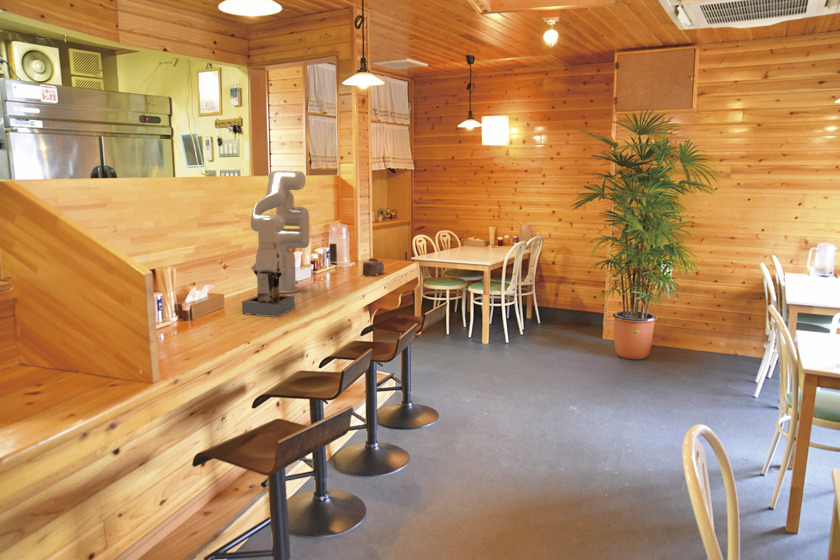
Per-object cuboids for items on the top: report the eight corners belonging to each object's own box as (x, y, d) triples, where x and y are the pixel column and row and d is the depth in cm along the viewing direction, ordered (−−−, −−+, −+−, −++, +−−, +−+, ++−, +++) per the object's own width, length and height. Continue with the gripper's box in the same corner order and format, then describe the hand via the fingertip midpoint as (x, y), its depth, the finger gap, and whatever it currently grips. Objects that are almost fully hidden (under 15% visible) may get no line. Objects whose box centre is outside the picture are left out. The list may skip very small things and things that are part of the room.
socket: (262, 305, 268) (261, 293, 266) (294, 308, 263) (294, 296, 262) (242, 313, 252) (241, 301, 251) (276, 317, 248) (276, 304, 247)
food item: (373, 272, 354) (373, 256, 352) (384, 273, 350) (385, 257, 348) (361, 276, 342) (361, 259, 340) (372, 277, 338) (373, 260, 336)
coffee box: (271, 310, 253) (270, 274, 249) (257, 309, 254) (256, 273, 251) (280, 305, 261) (279, 270, 258) (266, 304, 263) (266, 269, 259)
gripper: (290, 245, 254) (290, 286, 257) (254, 243, 258) (255, 283, 261) (281, 248, 246) (282, 289, 250) (244, 245, 251) (246, 286, 254)
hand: (268, 286), depth 256 cm, fingers closed on coffee box, 6 cm apart
